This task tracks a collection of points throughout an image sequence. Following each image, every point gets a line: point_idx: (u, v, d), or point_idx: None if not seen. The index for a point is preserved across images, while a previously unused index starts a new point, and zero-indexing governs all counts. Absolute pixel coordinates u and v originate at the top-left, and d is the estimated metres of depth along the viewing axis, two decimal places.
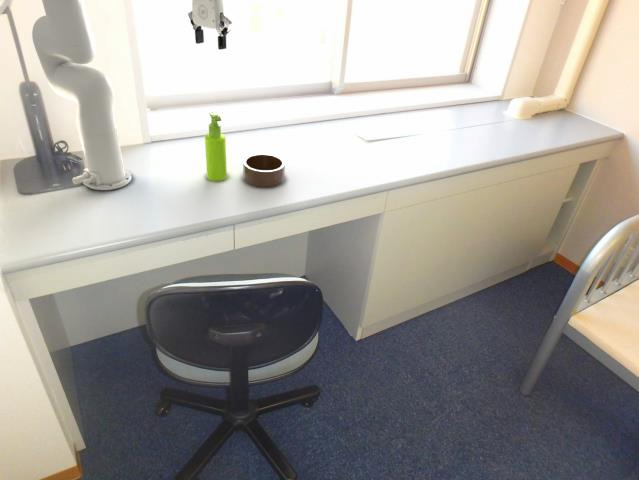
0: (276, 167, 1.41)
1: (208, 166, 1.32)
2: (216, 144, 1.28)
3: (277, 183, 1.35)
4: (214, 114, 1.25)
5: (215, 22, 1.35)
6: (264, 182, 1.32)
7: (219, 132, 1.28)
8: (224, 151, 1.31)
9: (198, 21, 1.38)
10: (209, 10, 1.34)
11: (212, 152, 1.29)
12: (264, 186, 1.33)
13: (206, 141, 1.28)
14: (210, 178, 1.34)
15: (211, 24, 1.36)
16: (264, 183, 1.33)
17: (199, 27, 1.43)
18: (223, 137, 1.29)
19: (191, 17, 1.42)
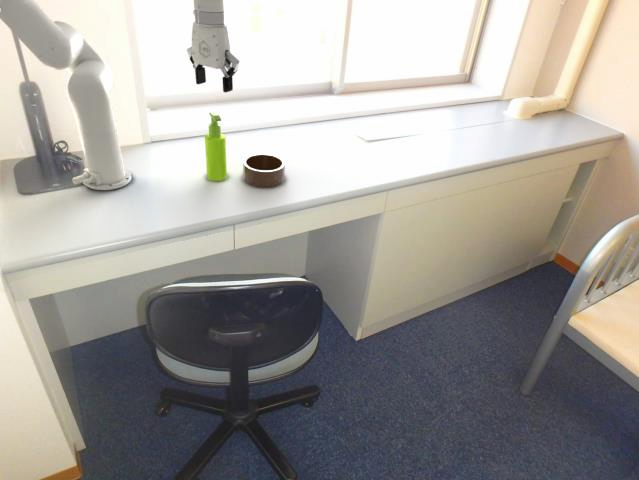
0: (276, 167, 1.41)
1: (208, 166, 1.32)
2: (216, 144, 1.28)
3: (277, 183, 1.35)
4: (214, 114, 1.25)
5: (219, 61, 1.12)
6: (264, 182, 1.32)
7: (219, 132, 1.28)
8: (224, 151, 1.31)
9: (199, 59, 1.15)
10: (212, 47, 1.11)
11: (212, 152, 1.29)
12: (264, 186, 1.33)
13: (206, 141, 1.28)
14: (210, 178, 1.34)
15: (214, 64, 1.13)
16: (264, 183, 1.33)
17: (200, 65, 1.20)
18: (223, 137, 1.29)
19: (190, 54, 1.19)
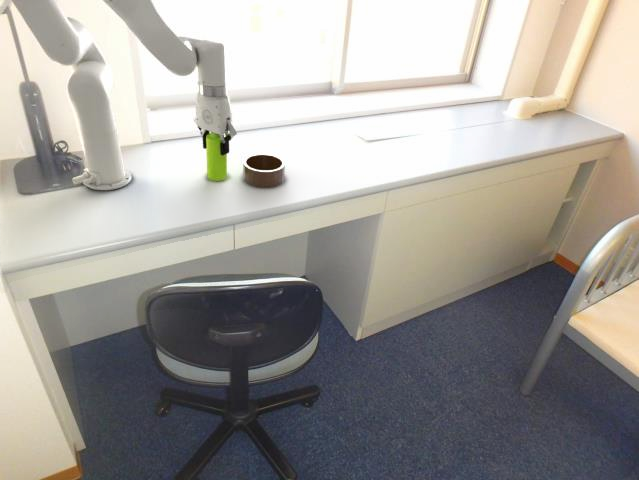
0: (276, 167, 1.41)
1: (208, 166, 1.32)
2: (218, 144, 1.28)
3: (277, 183, 1.35)
4: None
5: (221, 128, 1.23)
6: (264, 182, 1.32)
7: None
8: None
9: (202, 125, 1.25)
10: (214, 116, 1.21)
11: (213, 152, 1.29)
12: (264, 186, 1.33)
13: (207, 141, 1.28)
14: (210, 178, 1.34)
15: (217, 130, 1.23)
16: (264, 183, 1.33)
17: (207, 131, 1.30)
18: None
19: None
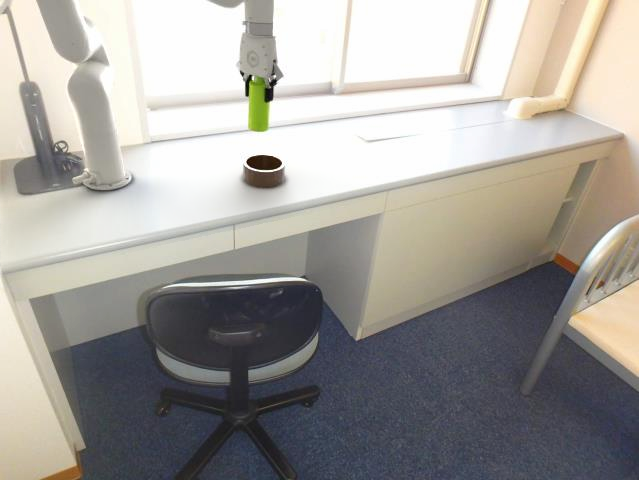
0: (276, 167, 1.41)
1: (251, 115, 1.25)
2: (262, 90, 1.20)
3: (277, 183, 1.35)
4: None
5: (267, 71, 1.15)
6: (264, 182, 1.32)
7: None
8: None
9: (246, 69, 1.18)
10: (261, 57, 1.14)
11: (256, 99, 1.22)
12: (264, 186, 1.33)
13: (251, 87, 1.21)
14: (252, 128, 1.27)
15: (262, 73, 1.16)
16: (264, 183, 1.33)
17: (250, 77, 1.23)
18: None
19: (240, 67, 1.22)
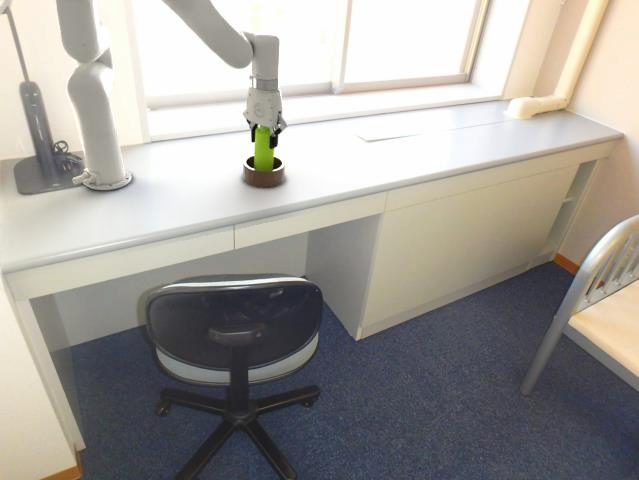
0: (276, 167, 1.41)
1: (256, 159, 1.33)
2: (267, 138, 1.28)
3: (277, 183, 1.35)
4: None
5: (272, 122, 1.23)
6: (264, 182, 1.32)
7: None
8: None
9: (253, 118, 1.26)
10: (266, 109, 1.22)
11: (262, 146, 1.30)
12: (264, 186, 1.33)
13: (257, 135, 1.29)
14: None
15: (268, 123, 1.24)
16: (264, 183, 1.33)
17: (255, 125, 1.31)
18: None
19: None
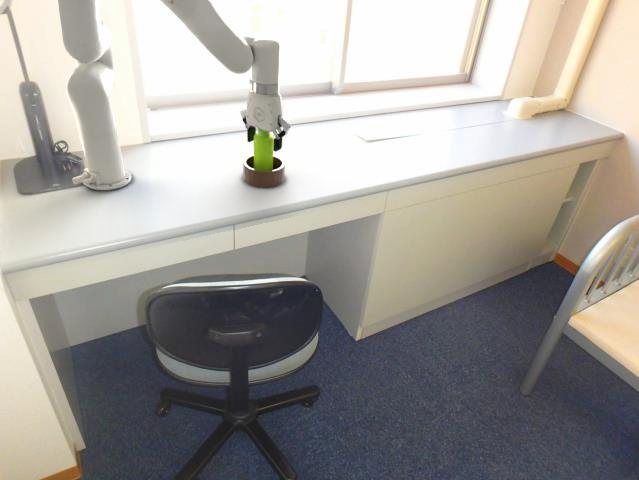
0: (276, 167, 1.41)
1: (256, 165, 1.34)
2: (266, 144, 1.30)
3: (277, 183, 1.35)
4: None
5: (272, 126, 1.24)
6: (264, 182, 1.32)
7: (268, 132, 1.30)
8: (272, 151, 1.33)
9: (253, 122, 1.27)
10: (266, 114, 1.23)
11: (261, 152, 1.31)
12: (264, 186, 1.33)
13: (255, 141, 1.30)
14: None
15: (268, 127, 1.25)
16: (264, 183, 1.33)
17: (252, 125, 1.32)
18: (272, 137, 1.31)
19: (243, 115, 1.31)
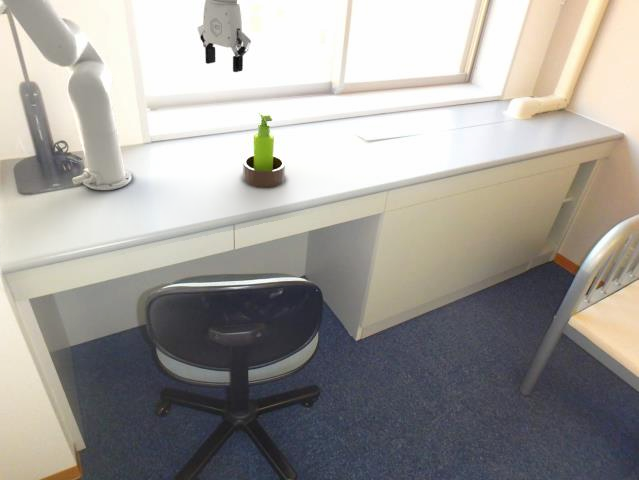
0: (276, 167, 1.41)
1: (256, 165, 1.34)
2: (266, 144, 1.30)
3: (277, 183, 1.35)
4: (264, 114, 1.27)
5: (231, 40, 1.12)
6: (264, 182, 1.32)
7: (268, 132, 1.30)
8: (272, 151, 1.33)
9: (210, 38, 1.14)
10: (224, 25, 1.10)
11: (261, 152, 1.31)
12: (264, 186, 1.33)
13: (255, 141, 1.30)
14: None
15: (226, 42, 1.12)
16: (264, 183, 1.33)
17: (210, 44, 1.19)
18: (272, 137, 1.31)
19: (201, 32, 1.18)
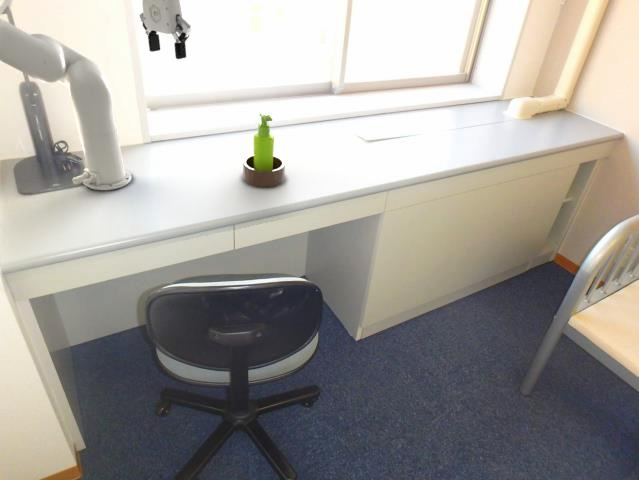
0: (276, 167, 1.41)
1: (256, 165, 1.34)
2: (266, 144, 1.30)
3: (277, 183, 1.35)
4: (264, 114, 1.27)
5: (170, 26, 1.10)
6: (264, 182, 1.32)
7: (268, 132, 1.30)
8: (272, 151, 1.33)
9: (150, 24, 1.13)
10: (162, 11, 1.09)
11: (261, 152, 1.31)
12: (264, 186, 1.33)
13: (255, 141, 1.30)
14: None
15: (165, 28, 1.11)
16: (264, 183, 1.33)
17: (153, 32, 1.18)
18: (272, 137, 1.31)
19: (143, 20, 1.17)
